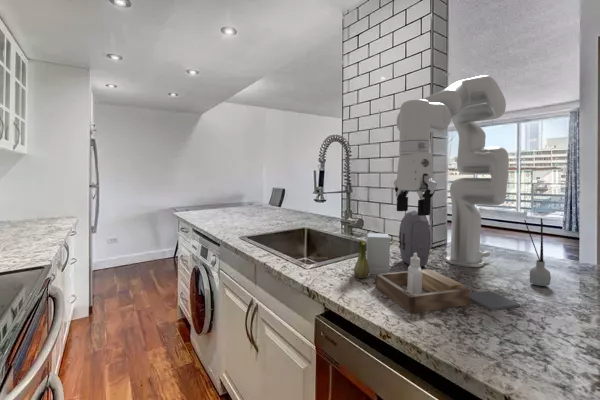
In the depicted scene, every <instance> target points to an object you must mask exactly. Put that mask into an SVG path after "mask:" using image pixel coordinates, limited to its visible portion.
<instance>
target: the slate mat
mask: <svg viewBox="0 0 600 400" xmlns="http://www.w3.org/2000/svg"><path fill="white" fill-rule="evenodd" d="M470 302H473V303H475V304H477V305H479V306H481V307H483V308H485V309H487V310H489V311H498V310H503V309H505V310H506V309H510V308H511V309H512V308H517V307H521V303H520V302H517V301H514V300H511V299H510V298H507V297H505V296H504V295H503V296H502V295H501V294H499V293H495V292H493V291H491V290H485V291H477V292H476V291H475V292H471V293H470Z"/></svg>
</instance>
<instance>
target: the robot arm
mask: <svg viewBox="0 0 600 400" xmlns="http://www.w3.org/2000/svg"><path fill="white" fill-rule="evenodd" d="M506 108H507V103H506V98H505V95H504V93H503V92H502V89H501V88H500V86H499V84H498V83H497V81H496V80H495V78H493V77H492V76H490V75H486V74H484V75H479V76H475V77H471V78H466V79H461V80H458V81H455V82H452V83H451V84H450V85H448V86H447V87H445V88H443V89H442V90H440V91H437V92H436V93H433V94H431V95H429V96H425V97H423V98H422V99H417V98H416V99H410V100H407V101H405V102H403V103H402V104H401V105H400V109H399V113H398V114H397V117H396V128H397V129H398V131H399V140H398V141H399V143H398V144H399V146H398V148H399V149H398V150H399V152H398V155H399V157H398V163H397V173H396V174H397V175H396V179H395V180H394V181H393V185H394V191H395V197H396V212H408V210H409V209H408V208H409V205H408V204H409V196H408V194H409V192H411V193H415V192H416V193H417V195H418V197H419V199H418V201H417V212H418V215H419V216H425V215H426V216H430V215H431V200H433V195H435V191H436V188H437V184H438V182H436V180H434V168H433V167H434V166H433V159H432V153H430V143H431V133H434V132H435V133H436V132H441V131H444V130H446V128H448V127H449V126H450V124H451V121H452V123H453V125H454V127H455V129H456V132H457V134H458V145H457V159H456V168H457V171H458V172H459V173H460V174H463V175H490V177H461V178H456V179H455V180H453V181H452V182H451V184H450V187H449V194H450V202H451V230H450V231H451V232H450V234H451V235H450V255H447V256H446V257H445V262H447V263H449V264H451V265H455V266H459V267H465V268H481V267H483V266H484V265H485V261H484V260H483V259H482V258H487V257H490V255H491V254H490V252H489V251H481V232H482V231H481V230H482V229H481V228H482V216H481V213H480V211H479V210H478V209H477V207H476V206H475V205H479V206H500V205H502V204H503V203H504V202H505V200H506V198H507V189H508V177H509V163H510V161H509V160H510V157H509V153H508V151H507V149H505V148H504V147H502V146H488V147H487V146H486V133H485V131H484V130H483V128H482V127H481V126H480V125H479V124H478V123H476V122H482V121H490V120H497V119H499V118H501V117H502V116H504V114H505V111H506Z"/></svg>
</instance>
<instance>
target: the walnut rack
mask: <svg viewBox="0 0 600 400" xmlns="http://www.w3.org/2000/svg"><path fill="white" fill-rule="evenodd" d="M422 270H428V269H427V268H426V269H425V268H424V269H422ZM374 275H375V278H374V279H375V281H374V282H375V284H374V287H375V289H377V290H378V291H379V292H381V293H382V294H384V295H385V296H386V297H387V298H389V299H390V300H392V301H393V302H394V303H395V304H397V305H399V306H400V307H402V308H403V309H404V310H405V311H407V312H408V313H409V314H416V313H422V312H429V311H436V310H437V311H438V310H443V309H451V308H452V307H453V308H458V307H459V306H460V307H465V306H471V300H470V293H472V292H471V289H470V288H467V287H465V288H464V287H463V289H455V290H447V291H438V292H423V293H422V294H414V295H412V294H410V293H409V292H407V290H406V289H404V288H402V287H405V286H406V287H407V284H408V270H404V271H395V272H389V273H383V274H374ZM453 308H452V309H453Z"/></svg>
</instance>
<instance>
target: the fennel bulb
mask: <svg viewBox="0 0 600 400" xmlns="http://www.w3.org/2000/svg"><path fill="white" fill-rule="evenodd" d="M353 274H354V276H355V277H356V278H357V279H366V278H368V277H369V276H370V274H369V266H368V262H367V242H365V241H364V240H359V242H358V257H357V261H356V263H355V265H354V269H353Z"/></svg>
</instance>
